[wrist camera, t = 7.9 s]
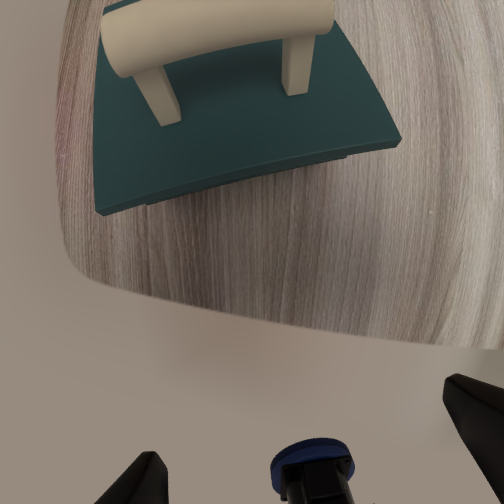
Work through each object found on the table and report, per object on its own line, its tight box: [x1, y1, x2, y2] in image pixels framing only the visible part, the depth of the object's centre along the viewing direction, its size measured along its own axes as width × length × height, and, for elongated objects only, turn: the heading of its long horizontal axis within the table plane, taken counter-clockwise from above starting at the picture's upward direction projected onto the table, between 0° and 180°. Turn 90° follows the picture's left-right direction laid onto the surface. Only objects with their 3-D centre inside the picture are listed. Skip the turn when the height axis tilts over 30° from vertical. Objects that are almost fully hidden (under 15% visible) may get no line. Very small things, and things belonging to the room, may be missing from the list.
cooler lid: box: [93, 0, 402, 216], centre depth 8 cm, size 11×10×5 cm
